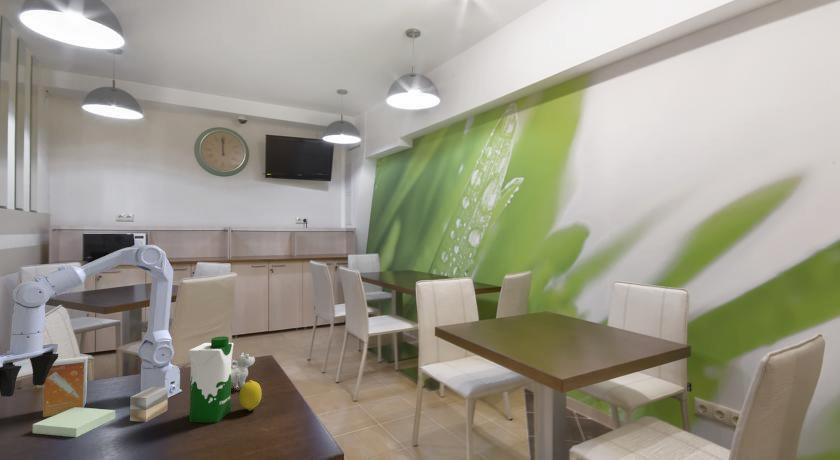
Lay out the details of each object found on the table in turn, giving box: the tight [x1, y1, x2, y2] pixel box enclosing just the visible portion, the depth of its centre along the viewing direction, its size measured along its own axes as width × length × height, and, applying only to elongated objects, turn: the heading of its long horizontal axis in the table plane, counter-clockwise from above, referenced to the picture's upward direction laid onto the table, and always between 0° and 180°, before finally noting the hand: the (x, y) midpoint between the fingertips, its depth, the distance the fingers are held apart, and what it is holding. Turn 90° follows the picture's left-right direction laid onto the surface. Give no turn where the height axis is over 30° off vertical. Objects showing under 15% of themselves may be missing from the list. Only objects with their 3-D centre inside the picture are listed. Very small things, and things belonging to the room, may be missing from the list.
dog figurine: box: [231, 352, 256, 389], centre depth 122 cm, size 5×13×11 cm, turn 148°
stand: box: [32, 407, 116, 438], centre depth 99 cm, size 12×10×2 cm
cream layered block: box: [129, 387, 169, 423], centre depth 105 cm, size 4×7×6 cm, turn 171°
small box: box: [42, 356, 88, 418], centre depth 108 cm, size 8×6×13 cm
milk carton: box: [188, 336, 234, 423], centre depth 105 cm, size 9×9×20 cm
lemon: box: [238, 379, 263, 411], centre depth 108 cm, size 6×6×8 cm
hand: (23, 390), depth 96 cm, fingers open, 7 cm apart
